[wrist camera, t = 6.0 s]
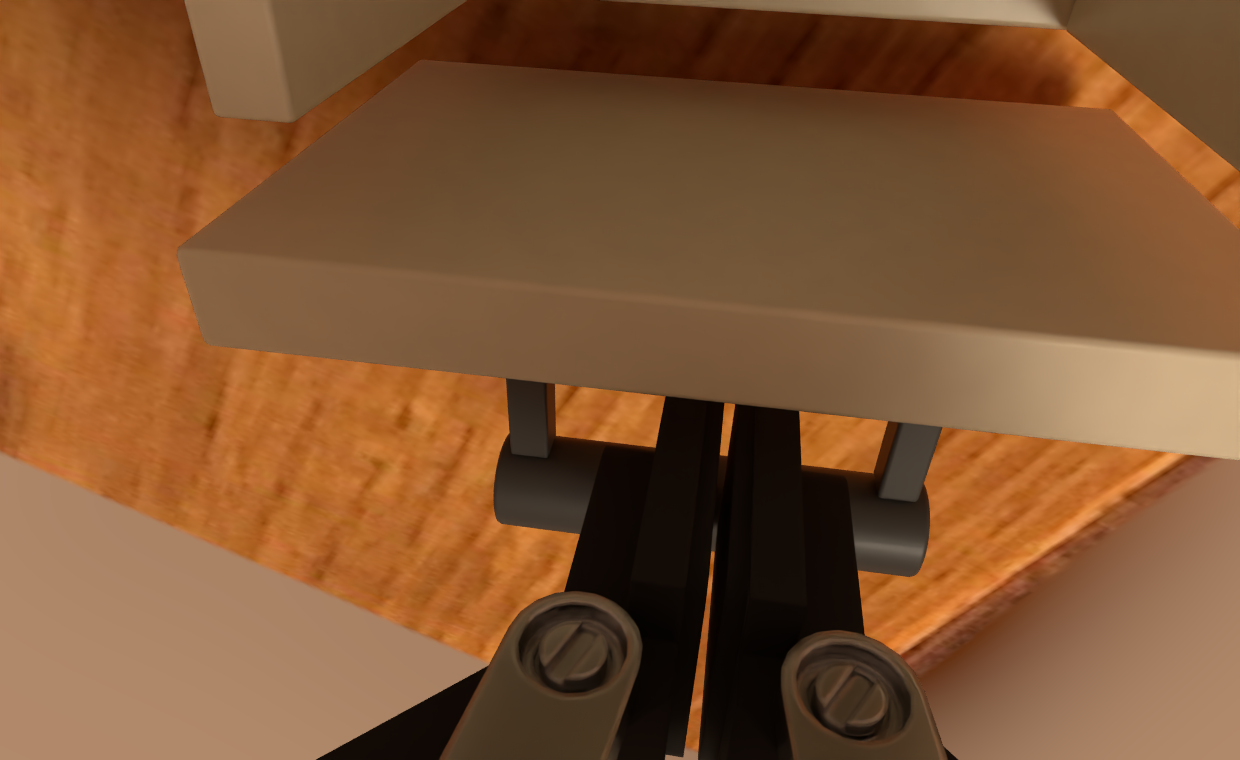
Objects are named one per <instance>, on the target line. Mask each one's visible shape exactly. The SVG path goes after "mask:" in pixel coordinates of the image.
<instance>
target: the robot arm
mask: <svg viewBox="0 0 1240 760" xmlns="http://www.w3.org/2000/svg"><path fill="white" fill-rule="evenodd" d="M723 411H724V403H723V402H714V401H705V400H696V399H687V398H678V397H669V396H666V397H665V402H664V407H663V413H662V418H661V423H660V428H659V433H658V439H657V444H656V449H655V451H650V450H642V449H635V448H627V447H619V446H612V445H606V446H605V448H604V450H603V453H602V456H601V460H600V464H599V467H598V471H597V475H596V478H595V482H594V485H593V489H592V493H591V496H590V500H589V504H588V507H587V511H586V515H585V518H584V522H583V526H582V529H581V533H580V537H579V540H578V544H577V547H576V551H575V555H574V558H573V562H572V566H571V569H570V573H569V577H568V580H567V584H566V588H565V591H564V592H561V593H554V594H551V595H549V596H546V597H543V598H541V599H538V600H536V601H534V602H533V603H532V604H530V605H529V606H527V607H526V608H525V609H523V610H522V611H521V612H520V613H519V614H518V616H517V617H516V618H515V619H514V621H513V622H512V623H511V625H510V626H509V628H508V630H507V632H506V633H505V635H504V637H503V639H502V641H501V643H500V645H499V647H498V649H497V651H496V652H495V654H494V656H493V658H492V660H491V662H490V664H489V666H487V667H485V668H483V669H481V670H480V671H478V672H476V673H474V674H472V675H470V676H469V677H467V678H465V679H463V680H462V681H459V682H458V683H456V684H454V685H452V686H450V687H448V688H447V689H445V690H443V691H441V692H439V693H438V694H436V695H434V696H432V697H430V698H428V699H427V700H425V701H423V702H421V703H419V704H417V705H415V706H413V707H412V708H410V709H408V710H406V711H404V712H402V713H401V714H399V715H397V716H395V717H393V718H391V719H390V720H388V721H386V722H384V723H382V724H380V725H379V726H377V727H375V728H373V729H371V730H369V731H368V732H366V733H364V734H362V735H360V736H358V737H357V738H355V739H353V740H351V741H349V742H348V743H346V744H344V745H342V746H340V747H338V748H337V749H335V750H333V751H331V752H329V753H327V754H325V755H324V756H322V757H320V758H318V759H316V760H665V754H666V755H672V756H678V757H683V755H684V748H685V741H686V735H687V728H688V721H689V714H690V707H691V700H692V693H693V687H694V680H695V673H696V666H697V659H698V652H699V646H700V639H701V632H702V625H703V618H704V611H705V604H706V596H707V588H708V579H709V569H710V558H711V547H712V535H713V524H714V513H715V502H716V490H717V479H718V468H719V456H720V445H721V434H722V423H723ZM698 760H958V759H957V758H956V757H955V756H953V755H952V754H951V753H950V752H949V751H948V750H947V749H946V748H945V747H944V746H943V744H942V741H941V738H940V735H939V732H938V729H937V727H936V723H935V720H934V717H933V714H932V711H931V708H930V706H929V703H928V699H927V696H926V694H925V691H924V689H923V687H922V685H921V683H920V681H919V679H918V677H917V675H916V673H915V672H914V670H913V669H912V668H911V667H910V666H909V665H908V664H907V663H906V662H905V661H904V659H903V658H902V657H901V656H900V655H899V654H897V653H896V652H894V651H893V650H892V649H890V648H889V647H887V646H886V645H884V644H883V643H881V642H880V641H877V640H875V639H872V638H870V637H867V636H865V634H864V625H863V616H862V607H861V598H860V588H859V579H858V570H857V561H856V552H855V543H854V534H853V525H852V515H851V506H850V497H849V488H848V483H847V479H846V477H845V476H843V475H835V474H827V473H819V472H812V471H804V470H802V469H801V445H800V420H799V411H795V410H786V409H777V408H768V407H759V406H750V405H741V404H735V410H734V417H733V424H732V431H731V438H730V444H729V451H728V458H727V465H726V472H725V478H724V485H723V492H722V499H721V506H720V513H719V519H718V527H717V536H716V546H715V557H714V570H713V582H712V594H711V606H710V618H709V630H708V642H707V654H706V666H705V678H704V690H703V703H702V715H701V727H700V739H699V752H698Z"/></svg>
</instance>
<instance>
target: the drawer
mask: <svg viewBox="0 0 1240 760" xmlns="http://www.w3.org/2000/svg"><path fill="white" fill-rule="evenodd" d="M184 1H185V5H186V9H187V13H188V17H189V21H190V24H191V28H192V32H193V36H194V40H195V43H196V47H197V51H198V55H199V59H200V62H201V66H202V70H203V74H204V78H205V82H206V85H207V89H208V93H209V97H210V101H211V104H212V108H213V112H214V113H215V115H216V116H219V117H225V118H238V119H250V120H262V121H274V122H286V123H291V122H294V121H296V120H297V119H299V118H300V117H302V116H303V115H304V114H306V113H307V112H309V111H310V110H312V109H313V108H314V107H316V106H317V105H319V104H320V103H322V102H323V101H324V100H326V99H327V98H329V97H330V96H332V95H333V94H334V93H336V92H337V91H339V90H340V89H342V88H343V87H344V86H346V85H347V84H349V83H350V82H352V81H353V80H354V79H356V78H357V77H359V76H360V75H362V74H363V73H364V72H366V71H367V70H369V69H370V68H372V67H373V66H374V65H376V64H377V63H379V62H380V61H382V60H383V59H384V58H386V57H387V56H389V55H390V54H392V53H393V52H394V51H396V50H397V49H399V48H400V47H402V46H403V45H404V44H406V43H407V42H409V41H410V40H412V39H413V38H414V37H416V36H417V35H419V34H420V33H422V32H423V31H424V30H426V29H427V28H429V27H430V26H432V25H433V24H434V23H436V22H437V21H439V20H440V19H442V18H443V17H444V16H446V15H447V14H449V13H450V12H452V11H453V10H454V9H456V8H457V7H459V6H460V5H461V4H463V3H464V2H466V1H467V0H184ZM602 1H617V2H633V3H649V4H665V5H681V6H697V7H712V8H728V9H744V10H760V11H776V12H791V13H807V14H823V15H839V16H855V17H871V18H886V19H902V20H918V21H934V22H950V23H965V24H981V25H997V26H1013V27H1029V28H1045V29H1060V30H1067V32H1069V33H1070V34H1071V35H1072V36H1074V37H1075V38H1076V39H1077V40H1078V41H1080V42H1081V43H1082V44H1083V45H1085V46H1086V47H1087V48H1088V49H1090V50H1091V51H1092V52H1093V53H1094V54H1096V55H1097V56H1098V57H1099V58H1101V59H1102V60H1103V61H1104V62H1106V63H1107V64H1108V65H1109V66H1110V67H1112V68H1113V69H1114V70H1115V71H1117V72H1118V73H1119V74H1120V75H1122V76H1123V77H1124V78H1125V79H1126V80H1128V81H1129V82H1130V83H1131V84H1133V85H1134V86H1135V87H1136V88H1138V89H1139V90H1140V91H1141V92H1142V93H1144V94H1145V95H1146V96H1147V97H1149V98H1150V99H1151V100H1152V101H1154V102H1155V103H1156V104H1157V105H1158V106H1160V107H1161V108H1162V109H1163V110H1165V111H1166V112H1167V113H1168V114H1170V115H1171V116H1172V117H1173V118H1174V119H1176V120H1177V121H1178V122H1179V123H1181V124H1182V125H1183V126H1184V127H1186V128H1187V129H1188V130H1189V131H1190V132H1192V133H1193V134H1194V135H1195V136H1197V137H1198V138H1199V139H1200V140H1202V141H1203V142H1204V143H1205V144H1206V145H1208V146H1209V147H1210V148H1211V149H1213V150H1214V151H1215V152H1216V153H1218V154H1219V155H1220V156H1221V157H1222V158H1224V159H1225V160H1226V161H1227V162H1229V163H1230V164H1231V165H1232V166H1233V167H1235V168H1236V169H1237V170H1238V171H1240V0H602ZM177 258H178V262H179V265H180V268H181V271H182V274H183V277H184V280H185V283H186V286H187V290H188V293H189V296H190V299H191V302H192V305H193V308H194V311H195V314H196V317H197V321H198V324H199V327H200V330H201V333H202V336H203V339H204V341H205V342H206V343H207V344H209V345H213V346H222V347H231V348H240V349H249V350H258V351H267V352H276V353H285V354H294V355H303V356H312V357H321V358H330V359H338V360H347V361H356V362H365V363H374V364H383V365H392V366H401V367H410V368H419V369H428V370H437V371H446V372H455V373H464V374H473V375H482V376H491V377H499V378H506V384H507V400H508V415H509V431H510V433H509V434H508V436H507V438H506V439H505V441H504V444H503V446H502V449H501V452H500V455H499V459H498V463H497V468H496V474H495V482H494V510H495V516H496V519H497V521H498V522H500V523H502V524H507V525H514V526H522V527H530V528H538V529H545V530H553V531H561V532H568V533H576V534H580V533H581V529H582V526H583V522H584V518H585V515H586V511H587V507H588V504H589V500H590V496H591V493H592V489H593V485H594V482H595V478H596V475H597V471H598V467H599V464H600V460H601V456H602V453H603V450H604V448H605V446H606V445H612V446H619V447H627V448H635V449H642V450H650V451H655V449H656V448H653V447H645V446H637V445H628V444H620V443H611V442H603V441H594V440H586V439H577V438H569V437H560V436H556V419H555V384H562V385H571V386H580V387H589V388H598V389H607V390H616V391H625V392H634V393H643V394H652V395H660V396H669V397H678V398H687V399H696V400H705V401H714V402H723V403H732V404H741V405H750V406H759V407H768V408H777V409H786V410H795V411H804V412H813V413H821V414H830V415H839V416H848V417H857V418H866V419H875V420H884V421H888V424H887V427H886V431H885V434H884V438H883V441H882V445H881V448H880V452H879V455H878V459H877V462H876V466H875V470H874V474H873V473H865V472H856V471H848V470H839V469H831V468H822V467H814V466H806V465H801V469H802V470H804V471H812V472H819V473H827V474H835V475H843V476H845V477H846V479H847V483H848V488H849V497H850V506H851V515H852V525H853V534H854V543H855V552H856V561H857V570H860V571H868V572H875V573H883V574H891V575H898V576H906V577H911V576H914V575H916V574H917V573H918V572H919V570H920V568H921V566H922V563H923V561H924V558H925V554H926V550H927V545H928V539H929V529H930V508H929V500H928V495H927V491H926V488H925V485H924V481H925V478H926V475H927V472H928V469H929V466H930V463H931V460H932V457H933V454H934V451H935V448H936V445H937V442H938V439H939V436H940V433H941V430H942V427H947V428H956V429H965V430H974V431H982V432H991V433H1000V434H1009V435H1018V436H1027V437H1036V438H1045V439H1054V440H1063V441H1072V442H1081V443H1090V444H1099V445H1108V446H1117V447H1126V448H1135V449H1144V450H1152V451H1161V452H1170V453H1179V454H1188V455H1197V456H1206V457H1215V458H1224V459H1233V460H1240V230H1239V229H1238V228H1237V227H1236V226H1235V225H1234V224H1233V223H1232V222H1231V221H1230V220H1229V219H1228V218H1227V217H1226V216H1224V215H1223V214H1222V213H1221V212H1220V211H1219V210H1218V209H1217V208H1216V207H1215V206H1214V205H1213V204H1212V203H1211V202H1210V201H1208V200H1207V199H1206V198H1205V197H1204V196H1203V195H1202V194H1201V193H1200V192H1199V191H1198V190H1197V189H1196V188H1195V187H1194V186H1192V185H1191V184H1190V183H1189V182H1188V181H1187V180H1186V179H1185V178H1184V177H1183V176H1182V175H1181V174H1180V173H1179V172H1178V171H1176V170H1175V169H1174V168H1173V167H1172V166H1171V165H1170V164H1169V163H1168V162H1167V161H1166V160H1165V159H1164V158H1163V157H1161V156H1160V155H1159V154H1158V153H1157V152H1156V151H1155V150H1154V149H1153V148H1152V147H1151V146H1150V145H1149V144H1148V143H1147V142H1145V141H1144V140H1143V139H1142V138H1141V137H1140V136H1139V135H1138V134H1137V133H1136V132H1135V131H1134V130H1133V129H1132V128H1131V127H1129V126H1128V125H1127V124H1126V123H1125V122H1124V121H1123V120H1122V119H1121V118H1120V117H1119V116H1118V115H1117V114H1116V113H1115V112H1113V111H1112V110H1110V109H1097V108H1083V107H1070V106H1056V105H1042V104H1028V103H1014V102H1000V101H987V100H973V99H959V98H945V97H931V96H917V95H904V94H890V93H876V92H862V91H848V90H834V89H820V88H807V87H793V86H779V85H765V84H751V83H737V82H724V81H710V80H696V79H682V78H668V77H654V76H641V75H627V74H613V73H599V72H585V71H571V70H557V69H544V68H530V67H516V66H502V65H488V64H474V63H461V62H447V61H433V60H420V61H418V62H417V63H415V64H414V65H413V66H412V67H410V68H409V69H408V70H406V71H405V72H404V73H403V74H401V75H400V76H399V77H397V78H396V79H395V80H394V81H392V82H391V83H390V84H388V85H387V86H386V87H384V88H383V89H382V90H381V91H379V92H378V93H377V94H375V95H374V96H373V97H372V98H370V99H369V100H368V101H366V102H365V103H364V104H363V105H361V106H360V107H359V108H357V109H356V110H355V111H354V112H352V113H351V114H350V115H348V116H347V117H346V118H345V119H343V120H342V121H341V122H339V123H338V124H337V125H336V126H334V127H333V128H332V129H330V130H329V131H328V132H326V133H325V134H324V135H323V136H321V137H320V138H319V139H317V140H316V141H315V142H314V143H312V144H311V145H310V146H308V147H307V148H306V149H305V150H303V151H302V152H301V153H299V154H298V155H297V156H296V157H294V158H293V159H292V160H290V161H289V162H288V163H287V164H285V165H284V166H283V167H281V168H280V169H279V170H278V171H276V172H275V173H274V174H272V175H271V176H270V177H268V178H267V179H266V180H265V181H263V182H262V183H261V184H259V185H258V186H257V187H256V188H254V189H253V190H252V191H250V192H249V193H248V194H247V195H245V196H244V197H243V198H241V199H240V200H239V201H238V202H236V203H235V204H234V205H232V206H231V207H230V208H229V209H227V210H226V211H225V212H223V213H222V214H221V215H220V216H218V217H217V218H216V219H214V220H213V221H212V222H211V223H209V224H208V225H207V226H205V227H204V228H203V229H201V230H200V231H199V232H198V233H196V234H195V235H194V236H192V237H191V238H190V239H189V240H187V241H186V242H185V243H183V244H182V245H181V246H180V247H178V250H177ZM727 458H728V456H721V455H720V456H719V468H718V479H717V490H716V502H715V513H714V524H713V535H712V547H711V551H714V552H715V546H716V536H717V527H718V519H719V513H720V506H721V499H722V492H723V485H724V478H725V472H726V465H727Z"/></svg>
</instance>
